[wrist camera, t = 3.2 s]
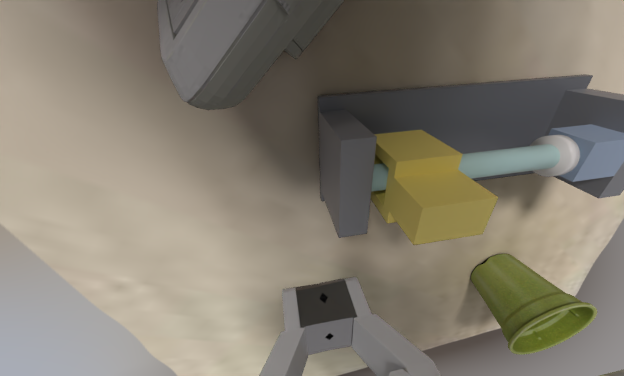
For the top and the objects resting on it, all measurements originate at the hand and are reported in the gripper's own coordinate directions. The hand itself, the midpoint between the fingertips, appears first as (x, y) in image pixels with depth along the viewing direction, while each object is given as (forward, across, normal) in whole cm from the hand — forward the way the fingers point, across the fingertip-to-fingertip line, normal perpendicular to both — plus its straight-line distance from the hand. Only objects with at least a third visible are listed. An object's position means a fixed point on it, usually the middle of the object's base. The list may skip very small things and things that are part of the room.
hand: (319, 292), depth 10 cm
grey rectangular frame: (+12, -14, -1) cm, 19 cm away
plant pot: (+13, -26, +19) cm, 35 cm away
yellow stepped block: (+10, -7, -1) cm, 12 cm away
